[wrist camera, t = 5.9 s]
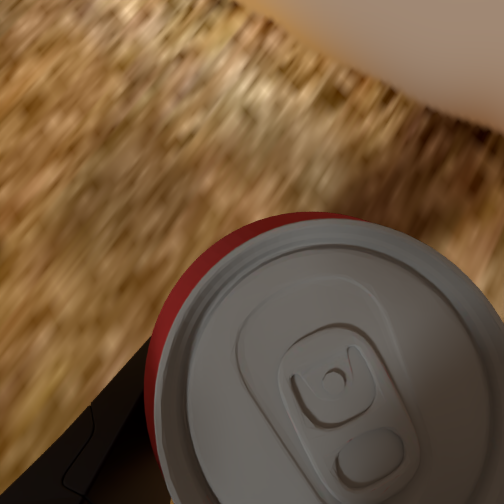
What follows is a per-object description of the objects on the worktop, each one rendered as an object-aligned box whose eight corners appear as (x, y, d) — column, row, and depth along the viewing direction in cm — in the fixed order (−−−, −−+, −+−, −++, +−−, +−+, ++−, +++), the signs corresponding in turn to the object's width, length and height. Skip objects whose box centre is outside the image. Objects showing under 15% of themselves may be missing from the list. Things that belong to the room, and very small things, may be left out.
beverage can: (304, 254, 17) (422, 114, 5) (365, 374, 16) (695, 531, 4) (189, 308, 16) (38, 282, 5) (243, 437, 15) (221, 836, 3)
